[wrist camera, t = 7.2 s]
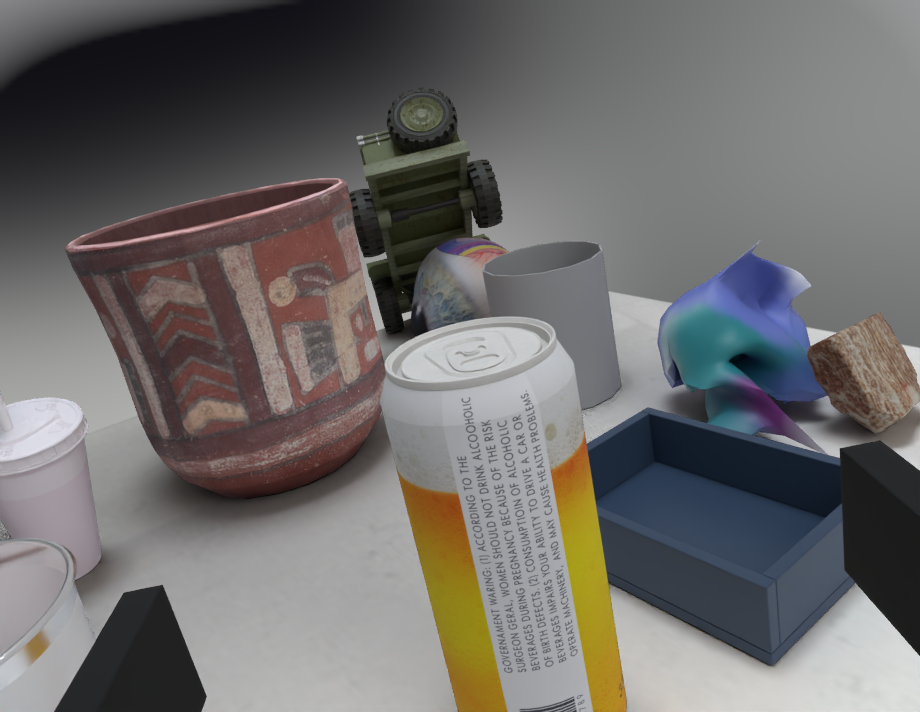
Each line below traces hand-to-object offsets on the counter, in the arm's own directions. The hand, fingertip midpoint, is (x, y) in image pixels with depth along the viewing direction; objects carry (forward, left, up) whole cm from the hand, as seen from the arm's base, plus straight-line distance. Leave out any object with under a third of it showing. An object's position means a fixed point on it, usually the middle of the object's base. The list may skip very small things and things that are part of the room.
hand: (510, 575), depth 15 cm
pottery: (+10, +39, -14) cm, 42 cm away
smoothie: (-5, +38, -13) cm, 41 cm away
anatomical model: (+32, +42, -13) cm, 54 cm away
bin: (+18, +10, -14) cm, 24 cm away
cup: (+28, +29, -14) cm, 42 cm away
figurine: (+30, +16, -14) cm, 37 cm away
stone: (+33, +11, -13) cm, 37 cm away
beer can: (+6, +8, -14) cm, 17 cm away
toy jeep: (+30, +46, -7) cm, 55 cm away
